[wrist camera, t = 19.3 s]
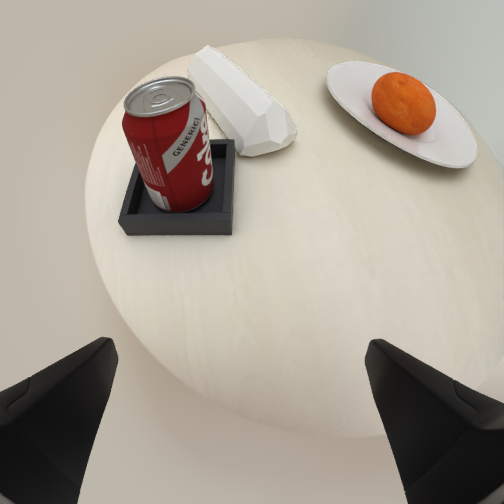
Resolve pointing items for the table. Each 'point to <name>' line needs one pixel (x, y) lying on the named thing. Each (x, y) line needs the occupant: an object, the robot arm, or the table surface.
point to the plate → (403, 112)
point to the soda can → (170, 142)
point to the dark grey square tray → (191, 222)
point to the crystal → (240, 105)
